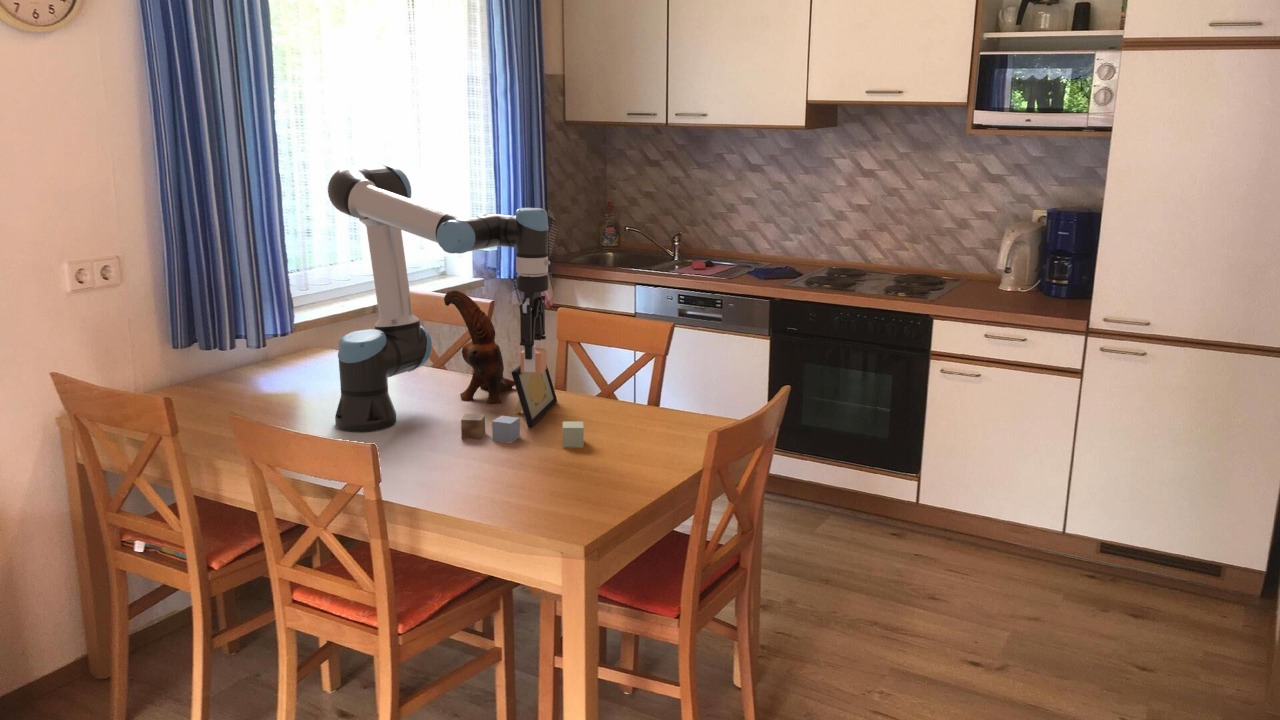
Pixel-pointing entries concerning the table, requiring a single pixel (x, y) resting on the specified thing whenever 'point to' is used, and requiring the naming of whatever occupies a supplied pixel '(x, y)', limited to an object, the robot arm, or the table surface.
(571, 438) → the sage block
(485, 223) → the robot arm
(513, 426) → the slate block
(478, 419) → the walnut block
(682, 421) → the table surface
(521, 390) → the picture frame
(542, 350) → the terracotta block
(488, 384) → the sculpture
